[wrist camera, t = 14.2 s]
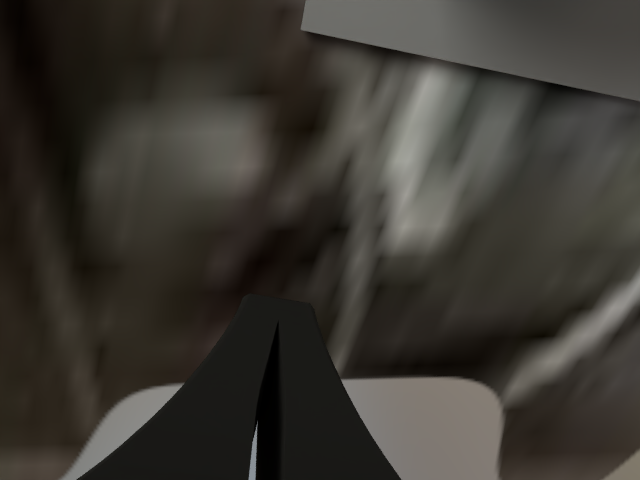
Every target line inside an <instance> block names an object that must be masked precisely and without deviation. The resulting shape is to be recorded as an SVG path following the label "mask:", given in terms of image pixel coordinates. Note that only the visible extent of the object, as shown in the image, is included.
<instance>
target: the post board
mask: <svg viewBox="0 0 640 480" xmlns="http://www.w3.org/2000/svg"><path fill="white" fill-rule="evenodd" d="M301 30H304V31H308V32H313V33H318V34H323V35H327V36H332V37H337V38H342V39H346V40H351V41H356V42H361V43H365V44H370V45H375V46H380V47H384V48H389V49H394V50H399V51H403V52H408V53H413V54H418V55H422V56H427V57H432V58H437V59H441V60H446V61H451V62H456V63H460V64H465V65H470V66H475V67H479V68H484V69H489V70H494V71H498V72H503V73H508V74H513V75H517V76H522V77H527V78H532V79H536V80H541V81H546V82H551V83H555V84H560V85H565V86H570V87H574V88H579V89H584V90H589V91H593V92H598V93H603V94H608V95H612V96H617V97H622V98H627V99H631V100H636V101H640V0H306V2H305V8H304V14H303V20H302V25H301Z"/></svg>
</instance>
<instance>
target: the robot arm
mask: <svg viewBox="0 0 640 480" xmlns="http://www.w3.org/2000/svg"><path fill="white" fill-rule="evenodd" d="M257 421H258V426H257V453H256V454H257V455H256V480H401V478H400V477H399V476H398V474H397V473H396V472H395V470H394V469H393V467H392V466H391V464H390V463H389V462H388V460H387V459H386V458H385V456H384V455H383V453H382V451H381V450H380V449H379V447H378V445H377V444H376V442H375V441H374V439H373V438H372V436H371V434H370V433H369V431H368V429H367V428H366V426H365V424H364V423H363V421H362V419H361V418H360V416H359V414H358V412H357V411H356V408H355V407H354V405H353V403H352V401H351V399H350V398H349V396H348V394H347V392H346V390H345V388H344V386H343V384H342V381H341V379H340V377H339V375H338V373H337V371H336V368H335V366H334V364H333V362H332V360H331V357H330V355H329V352H328V350H327V347H326V345H325V342H324V340H323V337H322V334H321V331H320V329H319V326H318V322H317V319H316V316H315V312H314V309H313V307H312V306H311V304H310V303H304V302H298V301H292V300H286V299H280V298H274V297H267V296H261V295H255V294H248V295H246V296H244V297H243V299H242V301H241V304H240V306H239V308H238V310H237V312H236V314H235V316H234V318H233V320H232V321H231V323H230V324H229V326H228V328H227V329H226V331H225V332H224V334H223V335H222V337H221V338H220V339H219V341H218V342H217V344H216V345H215V346H214V348H213V349H212V350H211V352H210V353H209V355H208V356H207V357H206V359H205V360H204V361H203V362H202V364H201V365H200V366H199V367H198V368H197V369H196V371H195V372H194V373H193V374H192V375H191V377H190V378H189V379H188V380H187V381H186V382H185V384H184V385H183V386H182V387H181V388H180V389H179V390H178V391H177V393H176V394H175V395H174V396H173V397H172V398H171V399H170V400H169V401H168V402H167V403H166V404H165V405H164V406H163V407H162V408H161V409H160V410H159V411H158V412H157V413H156V414H155V415H154V416H153V417H152V418H151V419H150V420H149V421H148V422H147V423H145V424H144V425H143V426H142V427H141V428H140V429H139V430H138V431H136V432H135V433H134V434H133V435H132V436H131V437H130V438H129V439H128V440H126V441H125V442H124V443H123V444H122V445H121V446H119V448H117V449H116V450H115V451H113V452H112V453H111V454H110V455H109V456H107V457H106V458H105V459H104V460H102V461H101V462H100V463H98V464H97V465H96V466H95V467H93V468H92V469H90V470H89V471H88V472H86V473H85V474H84V475H82V476H81V477H80V478H78V479H77V480H248V478H249V469H250V460H251V451H252V442H253V438H254V434H255V430H256V425H257Z"/></svg>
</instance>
